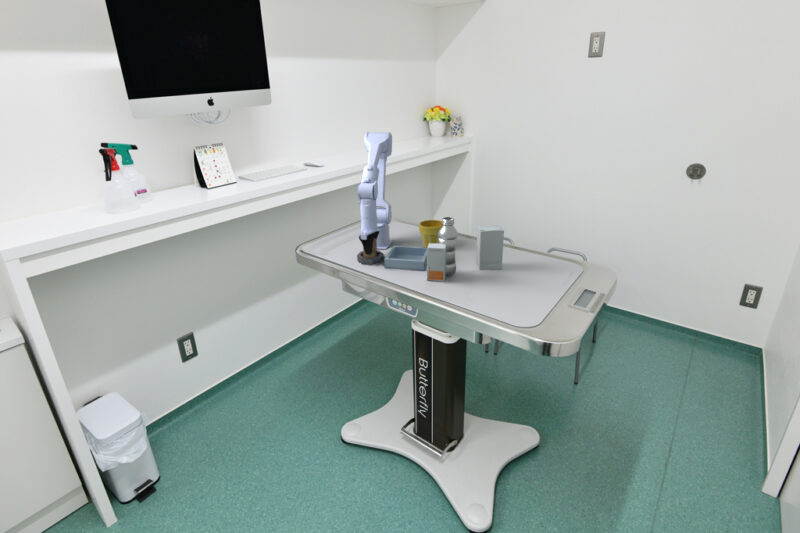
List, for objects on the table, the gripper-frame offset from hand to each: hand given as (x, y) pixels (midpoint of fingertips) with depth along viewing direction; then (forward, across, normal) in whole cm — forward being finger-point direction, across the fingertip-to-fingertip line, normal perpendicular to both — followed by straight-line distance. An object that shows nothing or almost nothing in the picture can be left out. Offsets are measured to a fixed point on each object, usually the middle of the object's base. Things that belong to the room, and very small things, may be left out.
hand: (370, 251), depth 167 cm
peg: (+3, 0, 0) cm, 3 cm away
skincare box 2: (+4, +2, -43) cm, 43 cm away
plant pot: (+4, +19, -20) cm, 28 cm away
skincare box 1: (+4, -12, -26) cm, 29 cm away
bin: (+3, +1, -14) cm, 14 cm away
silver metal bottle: (+4, -8, -29) cm, 31 cm away
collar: (+3, 0, 0) cm, 3 cm away
